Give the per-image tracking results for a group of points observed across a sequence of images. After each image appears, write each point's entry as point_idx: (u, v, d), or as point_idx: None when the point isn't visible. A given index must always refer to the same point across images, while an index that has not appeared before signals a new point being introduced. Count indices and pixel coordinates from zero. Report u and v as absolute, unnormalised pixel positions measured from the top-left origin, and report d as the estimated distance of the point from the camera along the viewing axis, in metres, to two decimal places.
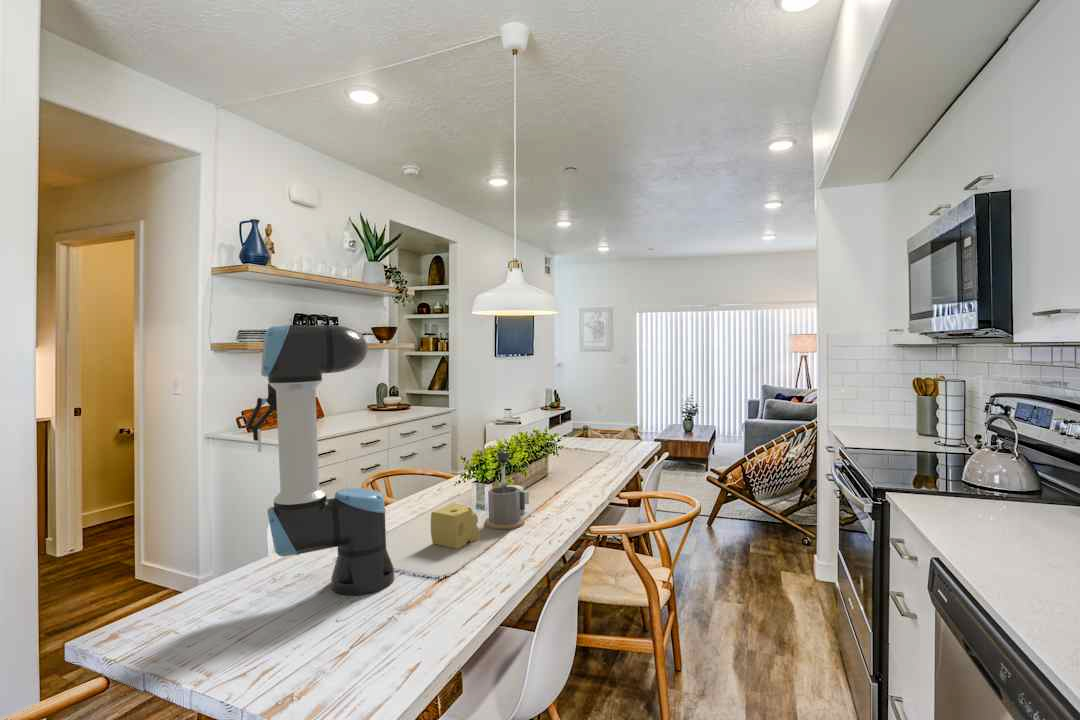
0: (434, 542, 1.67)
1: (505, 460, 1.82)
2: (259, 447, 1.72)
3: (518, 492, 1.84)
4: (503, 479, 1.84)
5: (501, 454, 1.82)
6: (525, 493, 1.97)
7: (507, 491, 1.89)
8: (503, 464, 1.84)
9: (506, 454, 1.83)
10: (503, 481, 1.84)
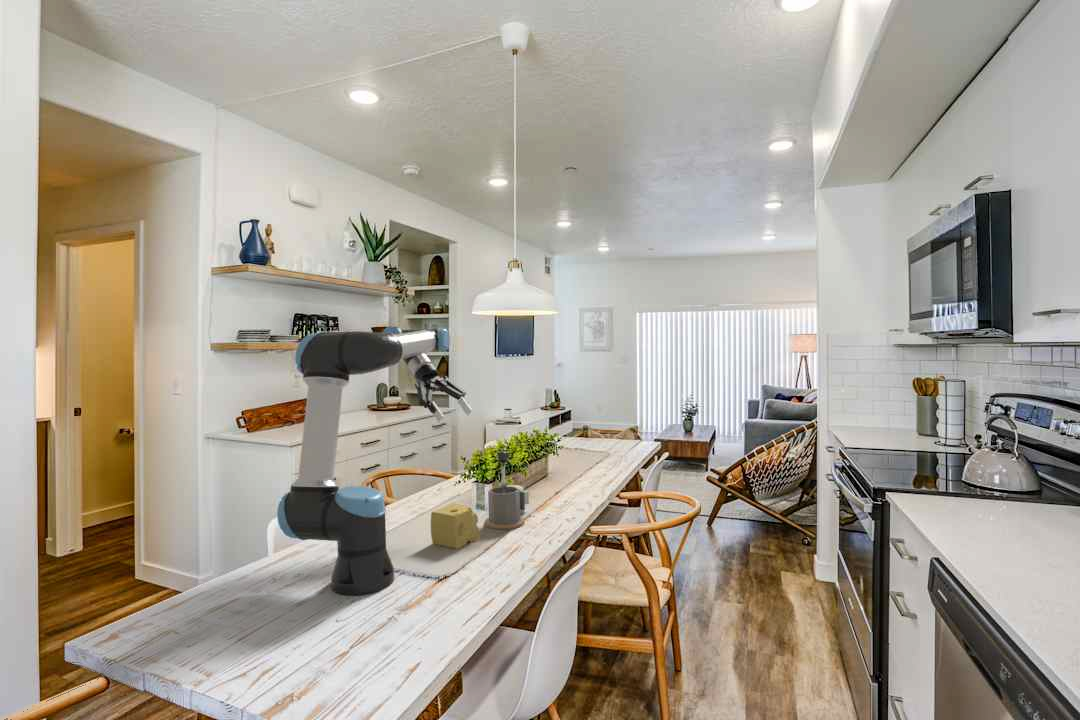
0: (434, 542, 1.67)
1: (505, 460, 1.82)
2: (441, 413, 1.83)
3: (518, 492, 1.84)
4: (503, 479, 1.84)
5: (501, 454, 1.82)
6: (525, 493, 1.97)
7: (507, 491, 1.89)
8: (503, 464, 1.84)
9: (506, 454, 1.83)
10: (503, 481, 1.84)
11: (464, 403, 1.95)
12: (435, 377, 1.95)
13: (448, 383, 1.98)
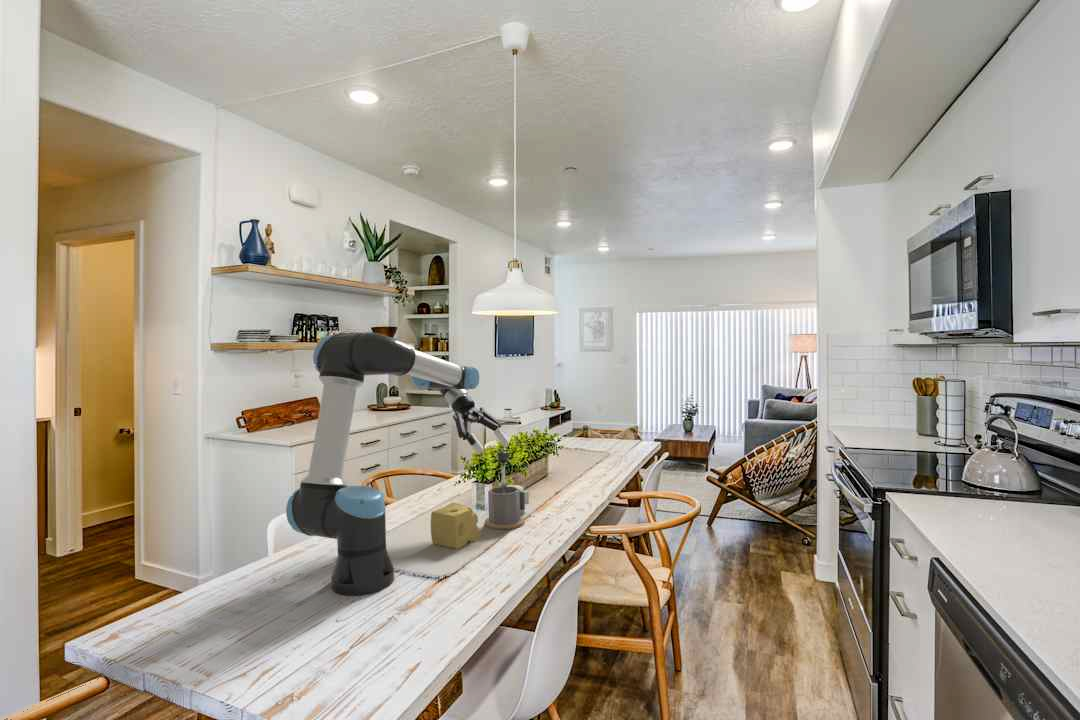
0: (434, 542, 1.67)
1: (505, 460, 1.82)
2: (480, 445, 1.82)
3: (518, 492, 1.84)
4: (503, 479, 1.84)
5: (501, 454, 1.82)
6: (525, 493, 1.97)
7: (507, 491, 1.89)
8: (503, 464, 1.84)
9: (506, 454, 1.83)
10: (503, 481, 1.84)
11: (501, 434, 1.94)
12: (472, 408, 1.95)
13: (484, 414, 1.97)
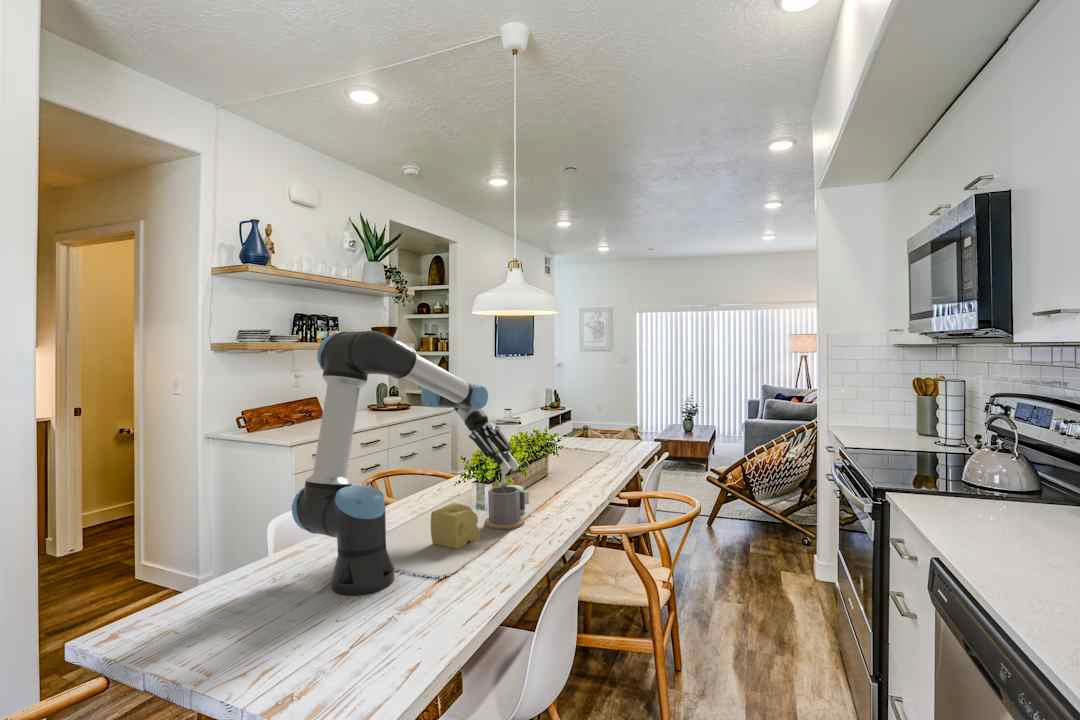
0: (434, 542, 1.67)
1: None
2: (508, 465, 1.80)
3: (518, 492, 1.84)
4: (503, 479, 1.84)
5: (501, 454, 1.82)
6: (525, 493, 1.97)
7: (507, 491, 1.89)
8: None
9: (506, 454, 1.83)
10: (503, 481, 1.84)
11: (510, 458, 1.84)
12: (485, 422, 1.91)
13: (497, 433, 1.91)
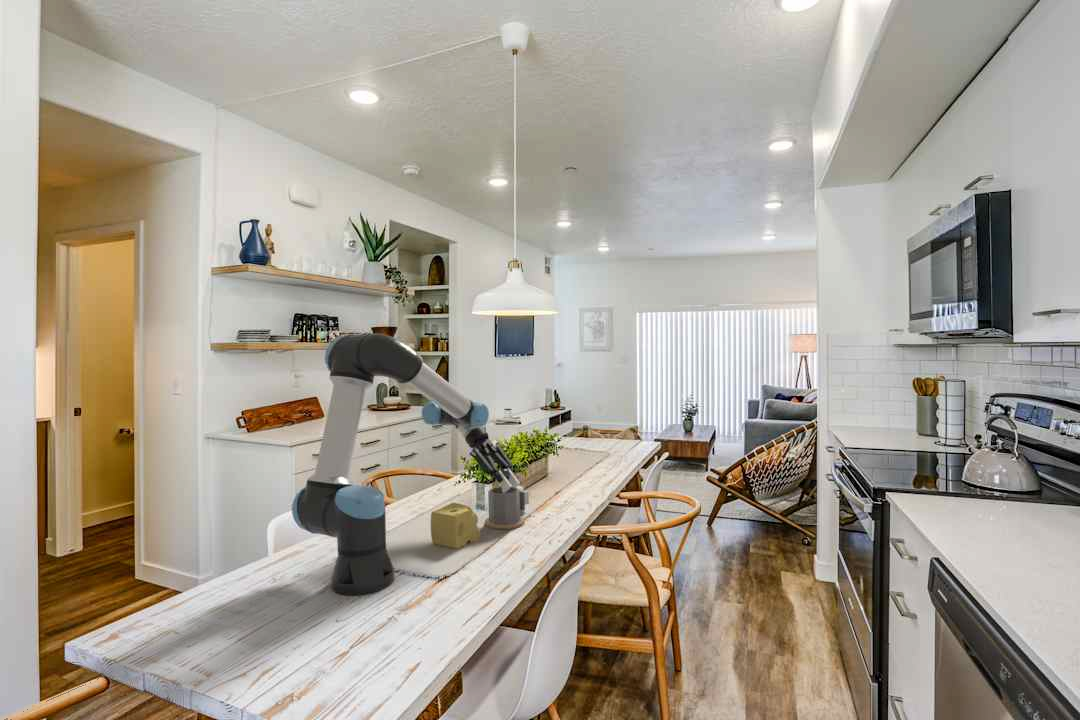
0: (434, 542, 1.67)
1: (506, 478, 1.83)
2: (508, 483, 1.80)
3: (518, 492, 1.84)
4: None
5: (502, 472, 1.82)
6: (525, 493, 1.97)
7: (507, 491, 1.89)
8: None
9: (507, 472, 1.83)
10: None
11: (511, 475, 1.85)
12: (486, 439, 1.91)
13: (498, 450, 1.91)
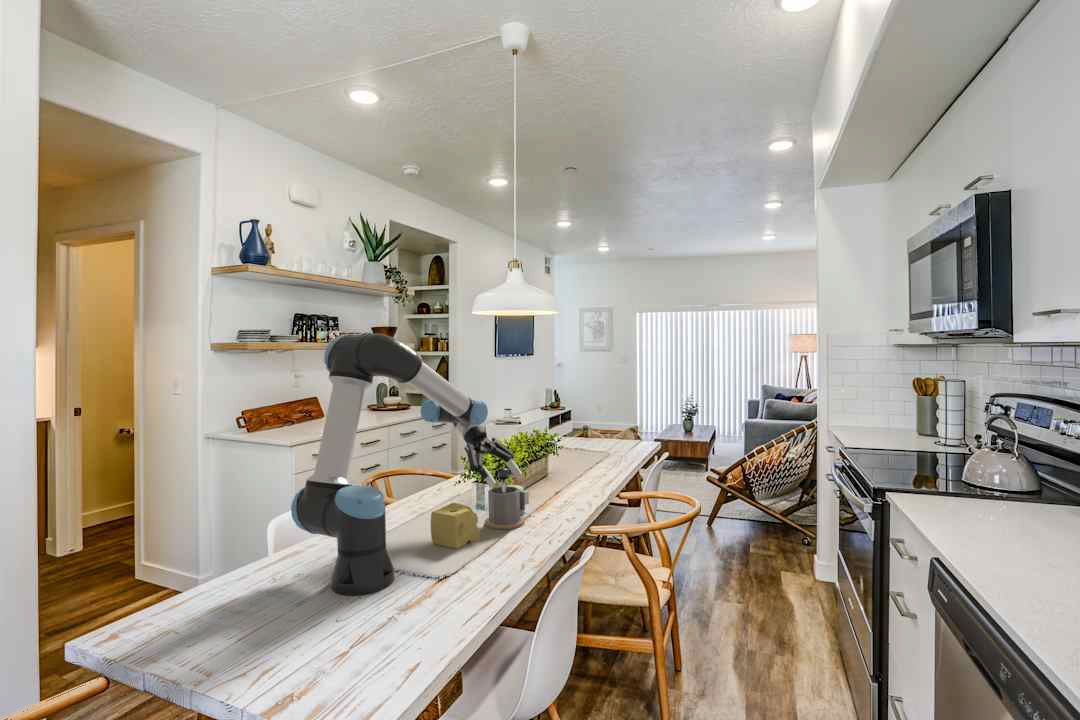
0: (434, 542, 1.67)
1: (506, 477, 1.83)
2: (493, 479, 1.78)
3: (518, 492, 1.84)
4: None
5: (502, 471, 1.82)
6: (525, 493, 1.97)
7: (507, 491, 1.89)
8: (504, 481, 1.84)
9: (507, 471, 1.83)
10: None
11: (514, 466, 1.90)
12: (484, 439, 1.91)
13: (497, 445, 1.93)
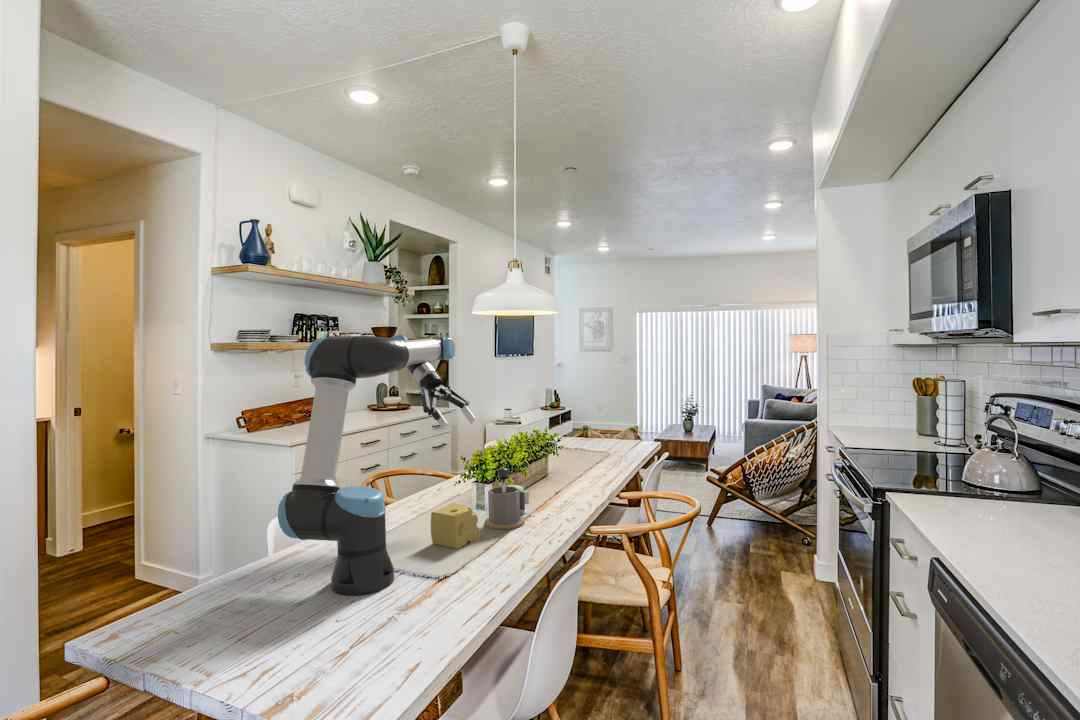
0: (434, 542, 1.67)
1: (506, 477, 1.83)
2: (444, 420, 1.85)
3: (518, 492, 1.84)
4: None
5: (502, 471, 1.82)
6: (525, 493, 1.97)
7: (507, 491, 1.89)
8: (504, 481, 1.84)
9: (507, 471, 1.83)
10: None
11: (468, 412, 1.97)
12: (439, 386, 1.98)
13: (452, 392, 2.01)
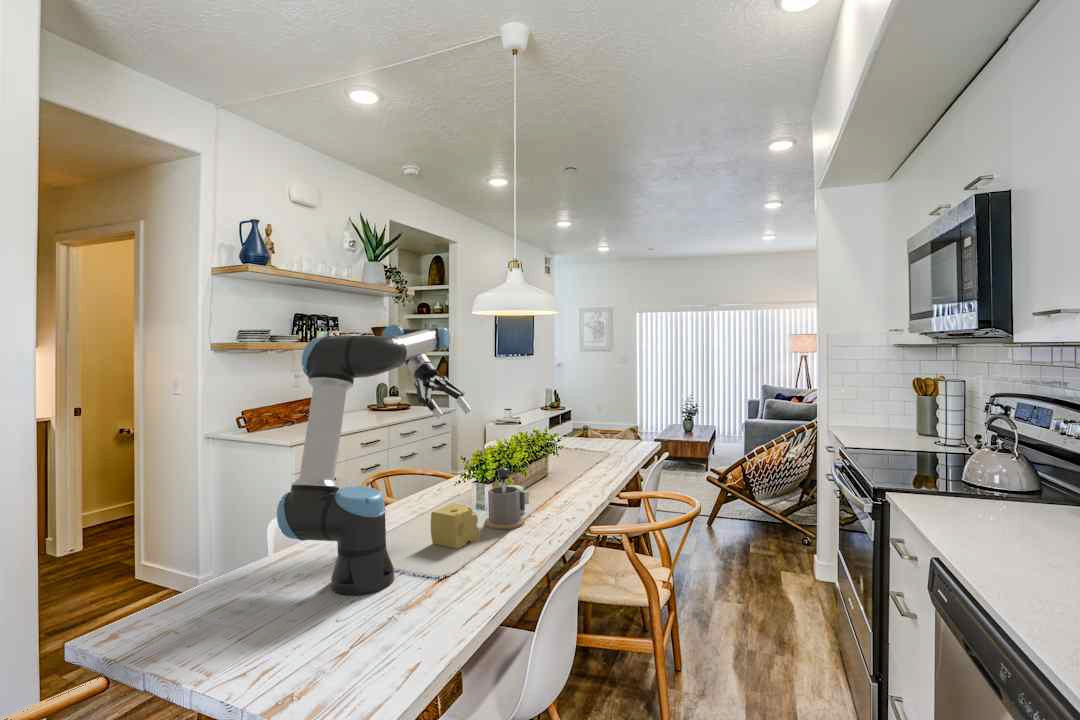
0: (434, 542, 1.67)
1: (506, 477, 1.83)
2: (439, 410, 1.85)
3: (518, 492, 1.84)
4: None
5: (502, 471, 1.82)
6: (525, 493, 1.97)
7: (507, 491, 1.89)
8: (504, 481, 1.84)
9: (507, 471, 1.83)
10: None
11: (463, 402, 1.97)
12: (434, 377, 1.98)
13: (447, 383, 2.00)
